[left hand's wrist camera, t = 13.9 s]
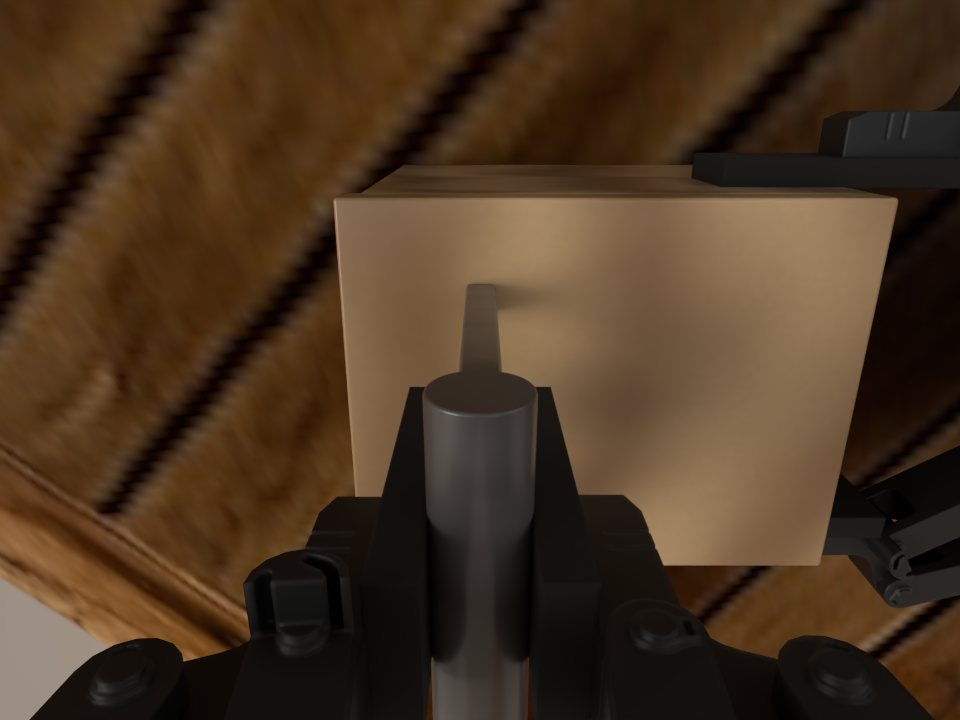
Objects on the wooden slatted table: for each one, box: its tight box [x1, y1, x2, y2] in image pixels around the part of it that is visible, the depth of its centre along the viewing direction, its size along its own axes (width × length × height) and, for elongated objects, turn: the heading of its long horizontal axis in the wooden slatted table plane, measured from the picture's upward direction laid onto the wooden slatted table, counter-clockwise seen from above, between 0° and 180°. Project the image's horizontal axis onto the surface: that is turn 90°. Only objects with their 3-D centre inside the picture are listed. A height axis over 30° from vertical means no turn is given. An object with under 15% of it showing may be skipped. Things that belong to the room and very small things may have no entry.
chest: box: [362, 165, 873, 194], centre depth 22 cm, size 13×10×10 cm
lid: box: [333, 193, 898, 720], centre depth 14 cm, size 13×10×9 cm
